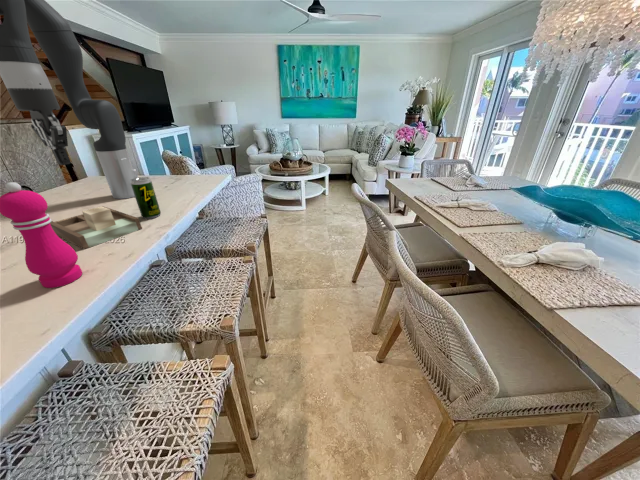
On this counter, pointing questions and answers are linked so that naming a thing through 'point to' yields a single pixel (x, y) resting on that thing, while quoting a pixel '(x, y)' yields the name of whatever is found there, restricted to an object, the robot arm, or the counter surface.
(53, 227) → the box
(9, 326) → the counter surface
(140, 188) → the beer can
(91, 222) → the maple block
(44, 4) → the robot arm
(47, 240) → the pepper mill
